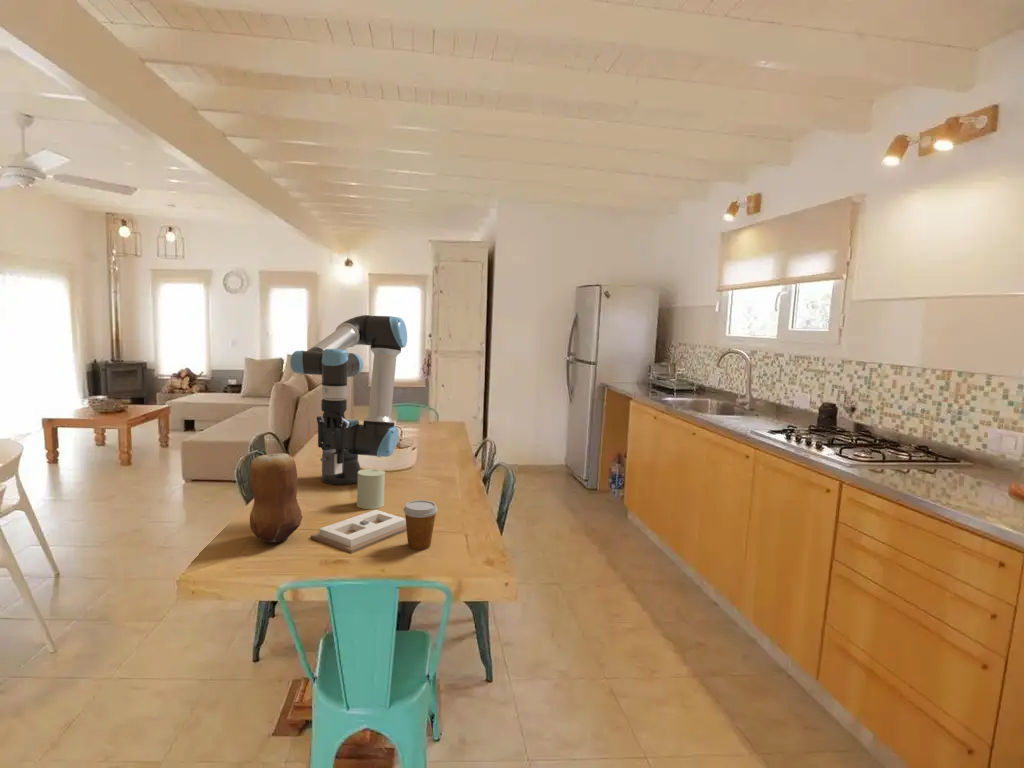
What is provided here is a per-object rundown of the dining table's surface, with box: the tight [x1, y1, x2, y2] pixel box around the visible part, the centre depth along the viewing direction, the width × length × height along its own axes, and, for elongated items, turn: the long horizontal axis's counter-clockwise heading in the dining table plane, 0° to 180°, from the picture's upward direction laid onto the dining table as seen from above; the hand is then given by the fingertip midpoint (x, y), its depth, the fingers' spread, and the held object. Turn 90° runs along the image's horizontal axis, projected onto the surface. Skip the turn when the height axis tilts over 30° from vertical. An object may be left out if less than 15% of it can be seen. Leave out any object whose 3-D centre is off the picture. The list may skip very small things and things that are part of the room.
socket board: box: [310, 509, 407, 554], centre depth 172 cm, size 17×25×3 cm
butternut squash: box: [249, 452, 303, 543], centre depth 161 cm, size 14×13×25 cm
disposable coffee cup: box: [403, 499, 438, 551], centre depth 164 cm, size 10×10×12 cm
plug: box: [320, 449, 344, 476], centre depth 181 cm, size 4×7×7 cm, turn 147°
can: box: [356, 468, 386, 510], centre depth 196 cm, size 9×9×12 cm
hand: (332, 471), depth 182 cm, fingers closed on plug, 4 cm apart
